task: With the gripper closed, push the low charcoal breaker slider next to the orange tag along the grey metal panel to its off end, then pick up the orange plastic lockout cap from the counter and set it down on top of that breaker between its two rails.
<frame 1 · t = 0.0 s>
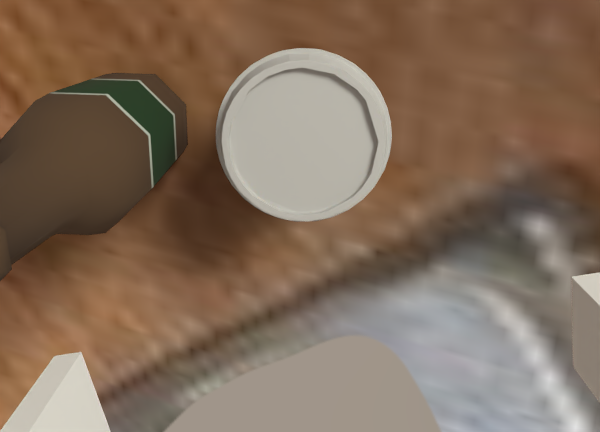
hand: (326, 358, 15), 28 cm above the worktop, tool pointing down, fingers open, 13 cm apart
beer bottle: (140, 121, 41), on the worktop
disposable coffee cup: (304, 106, 41), on the worktop
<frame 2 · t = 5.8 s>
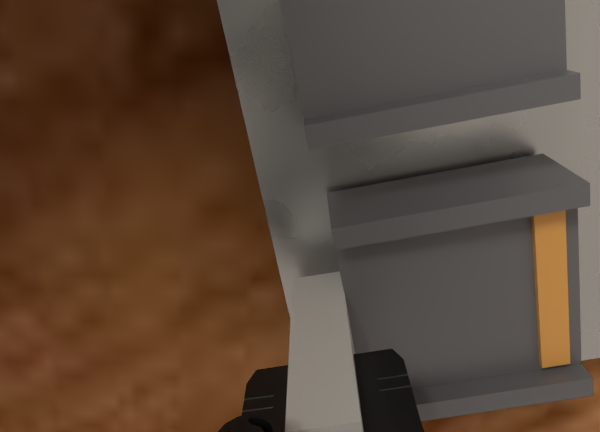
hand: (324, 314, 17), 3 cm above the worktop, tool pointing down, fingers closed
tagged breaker: (456, 291, 16), point 4 cm above the worktop, slide at 0.2 cm, touching gripper
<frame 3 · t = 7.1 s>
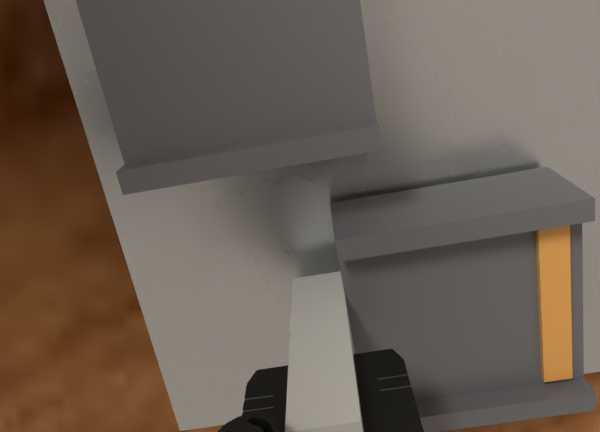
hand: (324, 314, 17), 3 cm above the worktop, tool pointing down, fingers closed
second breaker: (228, 32, 14), point 4 cm above the worktop, slide at 0.0 cm
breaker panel: (499, 127, 18), on the worktop
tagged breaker: (458, 303, 16), point 4 cm above the worktop, slide at 4.9 cm, touching gripper
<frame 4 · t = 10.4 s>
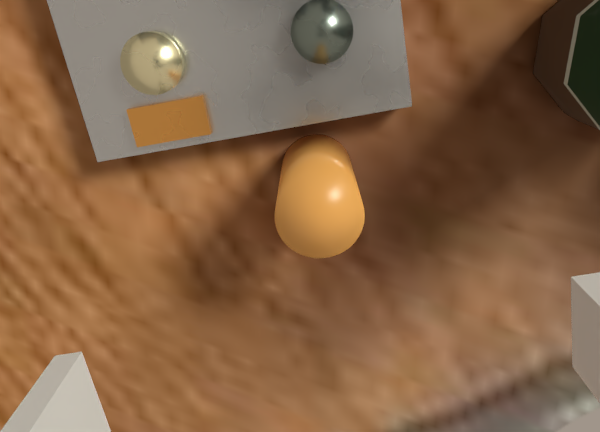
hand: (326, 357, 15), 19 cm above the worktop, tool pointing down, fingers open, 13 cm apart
lockout cap: (316, 168, 33), on the worktop
beer bottle: (598, 45, 30), on the worktop
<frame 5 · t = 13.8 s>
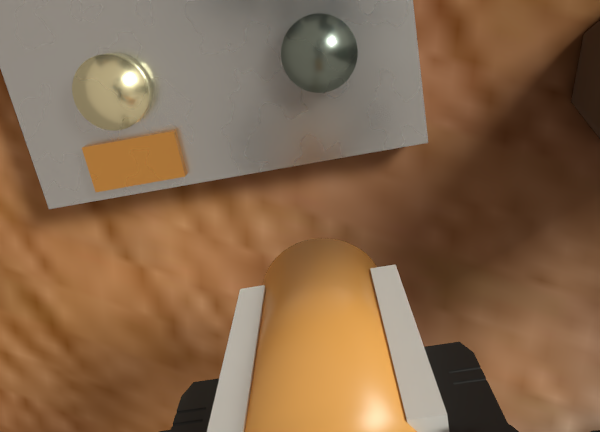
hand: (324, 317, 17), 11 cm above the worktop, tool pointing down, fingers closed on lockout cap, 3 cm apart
lockout cap: (322, 294, 18), point 9 cm above the worktop, touching gripper
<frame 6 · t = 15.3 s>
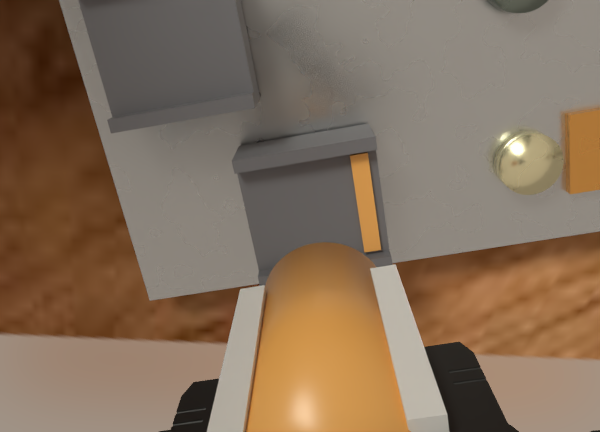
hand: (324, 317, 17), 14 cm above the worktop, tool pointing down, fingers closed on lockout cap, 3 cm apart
lockout cap: (324, 298, 18), point 13 cm above the worktop, touching gripper
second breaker: (171, 42, 25), point 4 cm above the worktop, slide at 0.0 cm
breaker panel: (350, 101, 29), on the worktop
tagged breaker: (314, 205, 27), point 4 cm above the worktop, slide at 4.9 cm
when the fingers open (7 cm above the worktop, at t = 17.3 s): lockout cap stays where it is, resting on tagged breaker.
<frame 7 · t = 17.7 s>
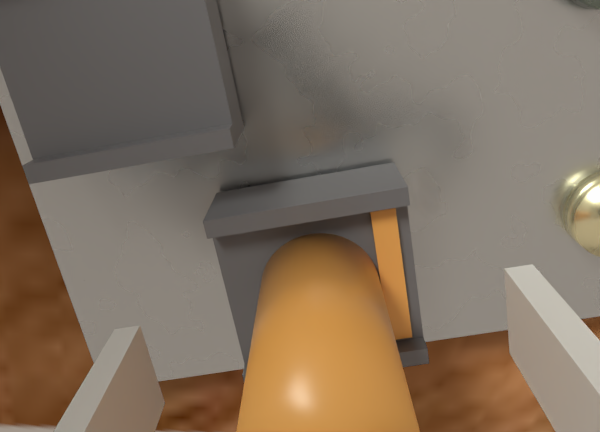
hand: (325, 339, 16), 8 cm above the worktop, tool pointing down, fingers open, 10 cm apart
lockout cap: (320, 287, 19), point 5 cm above the worktop, touching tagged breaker
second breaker: (114, 54, 17), point 4 cm above the worktop, slide at 0.0 cm
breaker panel: (366, 129, 22), on the worktop
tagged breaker: (320, 275, 20), point 4 cm above the worktop, slide at 4.9 cm, touching lockout cap
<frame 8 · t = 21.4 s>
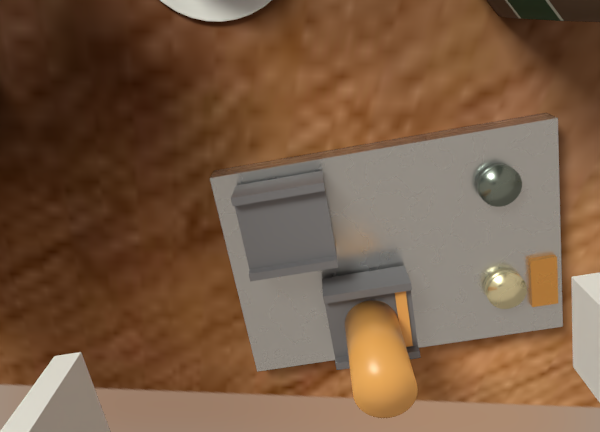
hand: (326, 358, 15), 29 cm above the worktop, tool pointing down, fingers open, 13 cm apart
lockout cap: (371, 323, 42), point 4 cm above the worktop, touching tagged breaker
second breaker: (286, 226, 41), point 4 cm above the worktop, slide at 0.0 cm
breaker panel: (390, 245, 45), on the worktop
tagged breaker: (370, 317, 43), point 4 cm above the worktop, slide at 4.9 cm, touching lockout cap
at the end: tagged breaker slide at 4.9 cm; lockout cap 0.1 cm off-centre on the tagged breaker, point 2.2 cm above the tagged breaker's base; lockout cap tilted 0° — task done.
